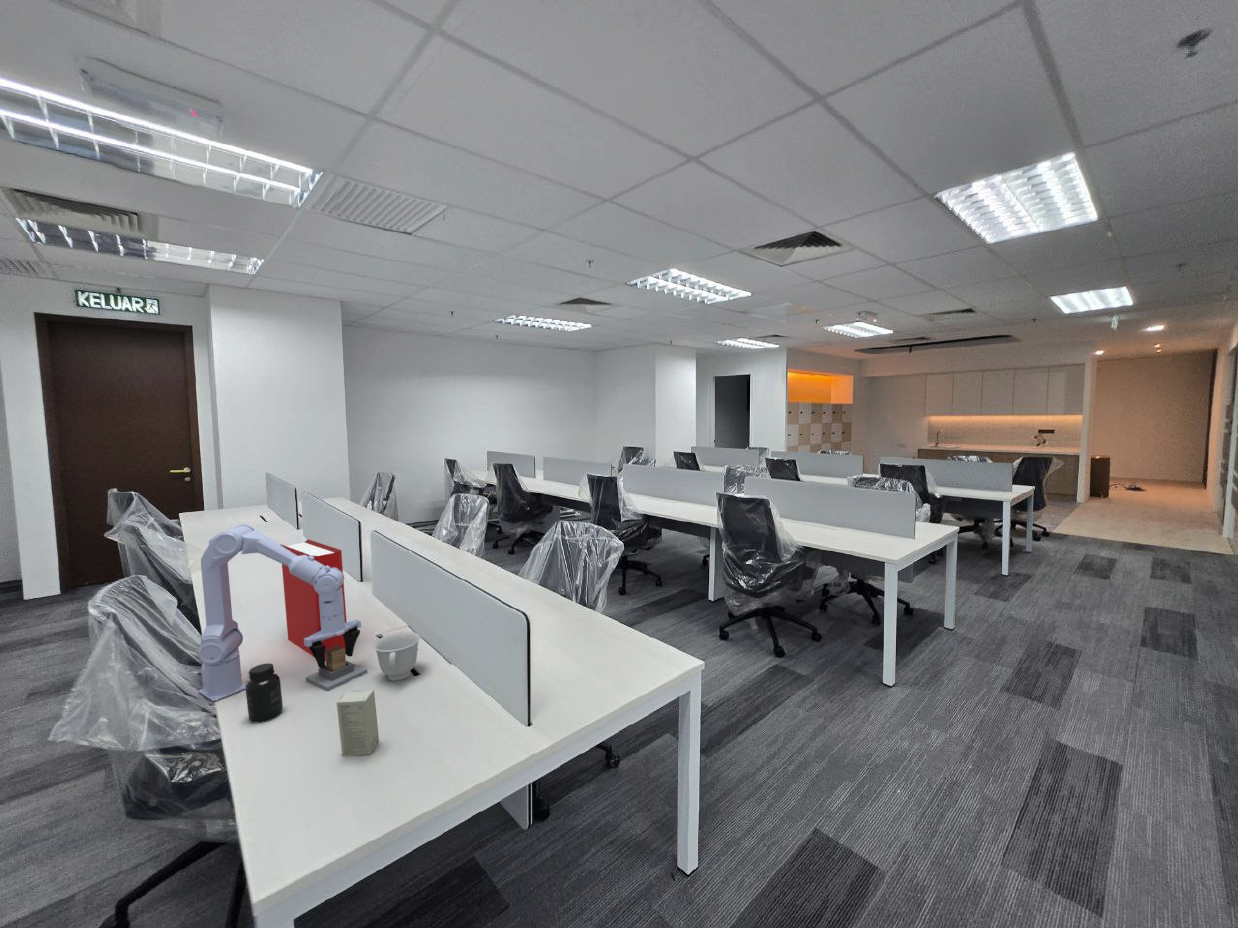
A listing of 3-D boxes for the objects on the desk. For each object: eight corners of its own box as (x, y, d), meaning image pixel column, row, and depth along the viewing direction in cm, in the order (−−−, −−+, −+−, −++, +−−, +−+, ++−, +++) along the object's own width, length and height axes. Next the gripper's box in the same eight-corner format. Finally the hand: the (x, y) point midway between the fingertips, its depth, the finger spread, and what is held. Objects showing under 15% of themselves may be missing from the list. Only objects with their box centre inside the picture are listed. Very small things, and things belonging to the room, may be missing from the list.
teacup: (368, 695, 128) (366, 658, 127) (379, 668, 142) (377, 634, 142) (418, 688, 131) (416, 651, 130) (424, 662, 146) (422, 629, 145)
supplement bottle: (277, 703, 125) (273, 658, 124) (287, 713, 121) (283, 666, 120) (244, 716, 120) (240, 669, 119) (253, 727, 116) (248, 677, 115)
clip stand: (305, 680, 137) (304, 670, 136) (345, 663, 146) (344, 653, 146) (327, 691, 131) (326, 680, 131) (367, 672, 140) (366, 662, 140)
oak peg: (326, 674, 138) (324, 650, 137) (339, 668, 141) (337, 644, 140) (333, 677, 136) (332, 652, 135) (346, 671, 139) (344, 647, 138)
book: (288, 639, 164) (280, 544, 161) (314, 631, 170) (307, 539, 167) (322, 663, 147) (314, 556, 144) (350, 652, 153) (343, 550, 150)
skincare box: (379, 742, 109) (376, 689, 108) (370, 755, 105) (366, 700, 104) (350, 743, 109) (346, 690, 108) (339, 756, 105) (335, 701, 104)
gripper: (312, 626, 129) (316, 676, 130) (365, 607, 141) (369, 653, 142) (298, 621, 132) (302, 670, 133) (351, 603, 145) (354, 648, 146)
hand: (335, 661), depth 138 cm, fingers open, 7 cm apart
